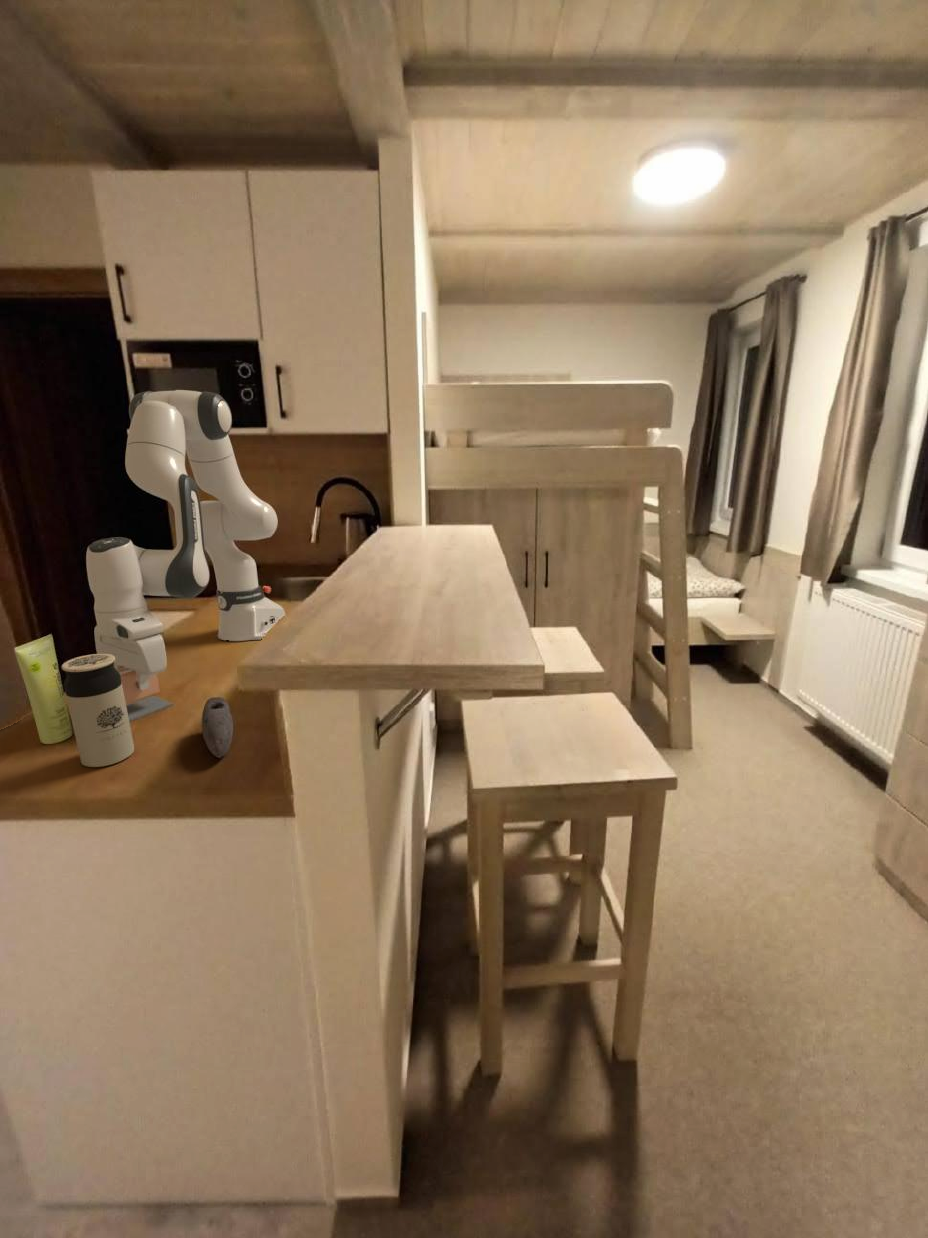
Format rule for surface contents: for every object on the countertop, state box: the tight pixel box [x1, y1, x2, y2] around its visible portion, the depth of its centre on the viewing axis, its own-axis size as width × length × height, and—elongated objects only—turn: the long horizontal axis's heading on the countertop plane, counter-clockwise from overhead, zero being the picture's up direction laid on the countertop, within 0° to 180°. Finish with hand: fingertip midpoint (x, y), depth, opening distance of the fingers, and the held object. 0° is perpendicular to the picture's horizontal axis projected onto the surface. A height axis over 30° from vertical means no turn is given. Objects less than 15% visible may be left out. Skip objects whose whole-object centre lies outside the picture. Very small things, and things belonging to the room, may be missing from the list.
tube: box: [13, 633, 74, 745], centre depth 99 cm, size 6×5×20 cm
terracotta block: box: [118, 668, 161, 704], centre depth 112 cm, size 4×7×6 cm, turn 148°
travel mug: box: [61, 653, 135, 768], centre depth 93 cm, size 8×8×18 cm
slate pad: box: [126, 695, 174, 723], centre depth 113 cm, size 10×8×1 cm
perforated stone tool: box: [201, 696, 234, 759], centre depth 99 cm, size 15×5×7 cm, turn 23°
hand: (135, 685), depth 112 cm, fingers closed on terracotta block, 4 cm apart
